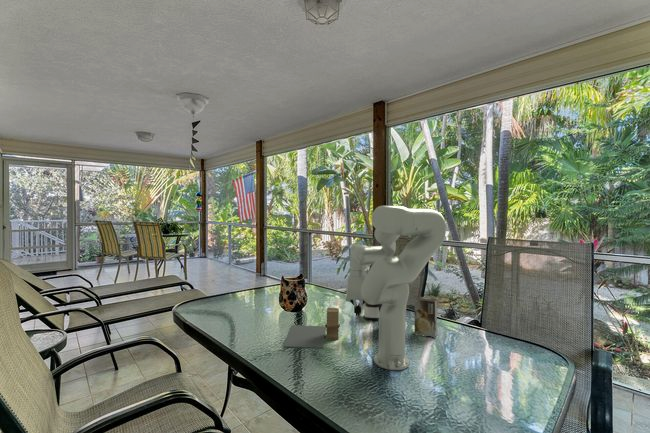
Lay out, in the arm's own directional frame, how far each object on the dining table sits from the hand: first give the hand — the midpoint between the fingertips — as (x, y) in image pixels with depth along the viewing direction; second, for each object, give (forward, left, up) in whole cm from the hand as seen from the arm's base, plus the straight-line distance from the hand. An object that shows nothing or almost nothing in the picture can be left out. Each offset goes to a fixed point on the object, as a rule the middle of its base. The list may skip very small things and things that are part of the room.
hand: (357, 314), depth 139 cm
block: (0, +11, -10) cm, 15 cm away
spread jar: (+28, -7, -10) cm, 30 cm away
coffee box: (+7, -31, -10) cm, 33 cm away
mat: (0, +22, -10) cm, 24 cm away
